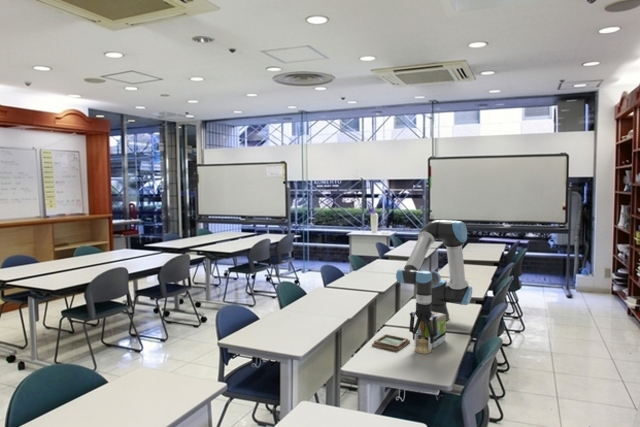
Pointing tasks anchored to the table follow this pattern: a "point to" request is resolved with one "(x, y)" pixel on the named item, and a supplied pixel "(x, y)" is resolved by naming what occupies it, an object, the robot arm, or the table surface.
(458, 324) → the table surface
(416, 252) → the robot arm
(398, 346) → the stand
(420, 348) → the hand bell
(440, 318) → the tea box
